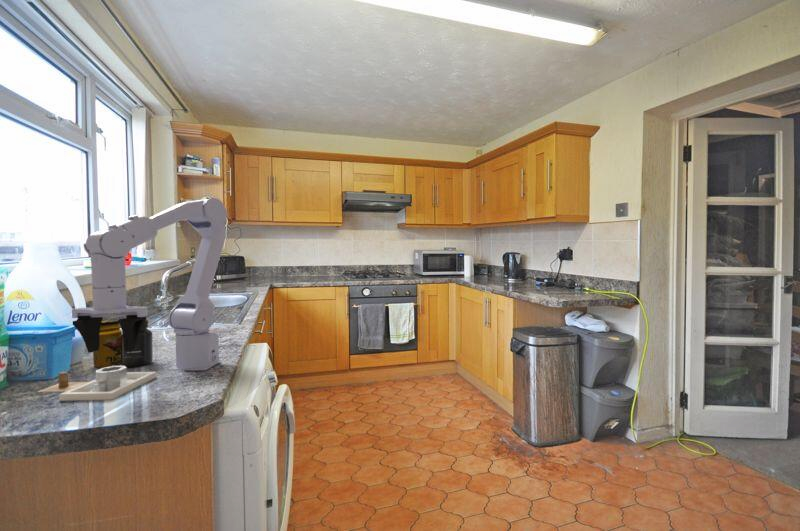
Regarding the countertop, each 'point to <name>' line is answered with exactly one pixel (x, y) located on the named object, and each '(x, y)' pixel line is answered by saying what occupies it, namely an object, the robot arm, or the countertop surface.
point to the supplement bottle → (139, 349)
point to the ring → (110, 378)
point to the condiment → (108, 344)
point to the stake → (62, 384)
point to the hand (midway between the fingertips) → (111, 350)
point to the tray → (86, 392)
